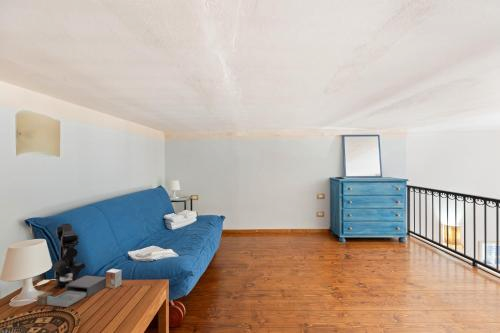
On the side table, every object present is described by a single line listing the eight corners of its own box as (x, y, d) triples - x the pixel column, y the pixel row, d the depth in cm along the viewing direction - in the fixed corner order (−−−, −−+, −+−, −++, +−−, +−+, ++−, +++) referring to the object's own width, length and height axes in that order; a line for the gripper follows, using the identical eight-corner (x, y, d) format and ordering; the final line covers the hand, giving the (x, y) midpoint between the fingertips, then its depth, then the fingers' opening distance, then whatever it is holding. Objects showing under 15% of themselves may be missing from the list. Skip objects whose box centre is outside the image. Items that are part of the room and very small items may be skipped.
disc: (68, 275, 148) (69, 272, 148) (79, 276, 146) (79, 273, 146) (56, 280, 140) (56, 278, 140) (67, 282, 138) (67, 279, 138)
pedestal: (37, 304, 138) (37, 295, 138) (45, 300, 143) (46, 291, 143) (44, 305, 137) (44, 296, 137) (52, 301, 142) (52, 292, 142)
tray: (47, 304, 138) (47, 297, 138) (69, 293, 151) (69, 286, 151) (67, 307, 135) (67, 299, 135) (87, 295, 148) (88, 288, 148)
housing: (65, 294, 150) (65, 284, 150) (85, 284, 164) (85, 275, 164) (88, 297, 147) (88, 287, 147) (106, 286, 161) (106, 277, 161)
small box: (105, 287, 160) (105, 271, 160) (112, 283, 165) (112, 268, 165) (114, 288, 157) (115, 272, 158) (121, 285, 163) (121, 269, 163)
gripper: (42, 257, 138) (41, 285, 137) (69, 259, 134) (68, 288, 133) (61, 251, 148) (60, 276, 148) (86, 253, 145) (85, 279, 144)
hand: (68, 280), depth 143 cm, fingers closed on disc, 8 cm apart
